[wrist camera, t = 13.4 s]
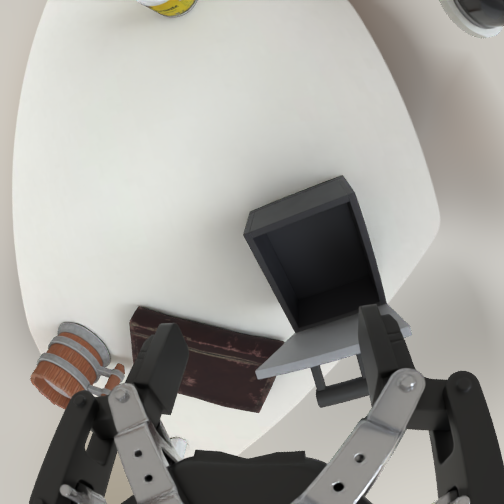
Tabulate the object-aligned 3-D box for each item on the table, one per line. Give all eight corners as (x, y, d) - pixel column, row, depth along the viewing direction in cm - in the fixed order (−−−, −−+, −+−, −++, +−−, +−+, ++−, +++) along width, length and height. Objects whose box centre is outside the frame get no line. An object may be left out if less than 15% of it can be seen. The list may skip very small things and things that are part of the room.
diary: (139, 301, 48) (127, 321, 44) (285, 336, 48) (284, 359, 44) (144, 367, 57) (136, 385, 53) (260, 395, 58) (258, 415, 53)
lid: (254, 370, 23) (273, 427, 22) (409, 325, 19) (423, 388, 19) (294, 333, 39) (306, 370, 38) (386, 303, 35) (397, 342, 34)
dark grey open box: (249, 211, 38) (242, 234, 33) (342, 175, 35) (354, 192, 29) (294, 301, 45) (295, 333, 39) (374, 274, 41) (386, 303, 35)
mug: (52, 314, 54) (16, 361, 41) (126, 337, 53) (95, 396, 40) (68, 355, 61) (41, 400, 48) (136, 378, 60) (114, 432, 47)
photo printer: (170, 445, 79) (161, 477, 68) (159, 440, 78) (150, 472, 67) (189, 442, 75) (181, 476, 64) (178, 436, 74) (168, 471, 63)
